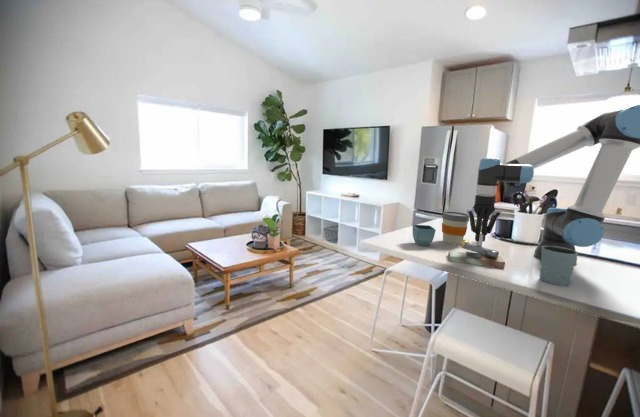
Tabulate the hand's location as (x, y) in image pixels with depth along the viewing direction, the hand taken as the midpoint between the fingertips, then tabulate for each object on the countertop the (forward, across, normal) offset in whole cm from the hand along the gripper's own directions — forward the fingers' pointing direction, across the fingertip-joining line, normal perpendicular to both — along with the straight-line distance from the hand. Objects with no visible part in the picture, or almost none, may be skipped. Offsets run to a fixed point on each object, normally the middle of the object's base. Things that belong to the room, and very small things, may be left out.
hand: (478, 248), depth 132 cm
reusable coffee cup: (+4, +5, -22) cm, 23 cm away
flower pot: (+4, +22, -12) cm, 25 cm away
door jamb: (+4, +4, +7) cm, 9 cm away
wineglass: (+4, -8, -25) cm, 26 cm away
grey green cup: (+5, -18, +22) cm, 29 cm away
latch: (+1, +1, +3) cm, 3 cm away
